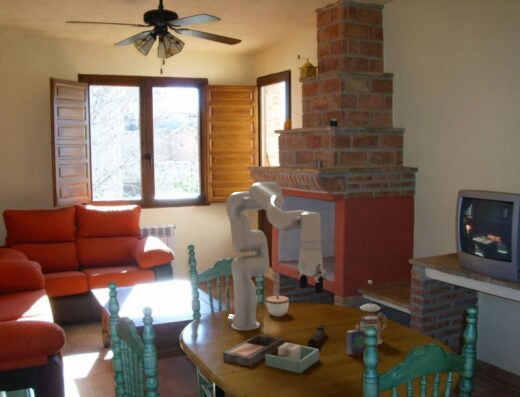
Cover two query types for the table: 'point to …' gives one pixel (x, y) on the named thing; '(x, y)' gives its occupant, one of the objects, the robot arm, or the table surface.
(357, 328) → the flask
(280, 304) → the lidded jar
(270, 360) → the teal open tray
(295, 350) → the cube
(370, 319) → the french press
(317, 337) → the hand tool
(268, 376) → the table surface
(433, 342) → the table surface
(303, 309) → the table surface
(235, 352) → the dark brown shallow tray
